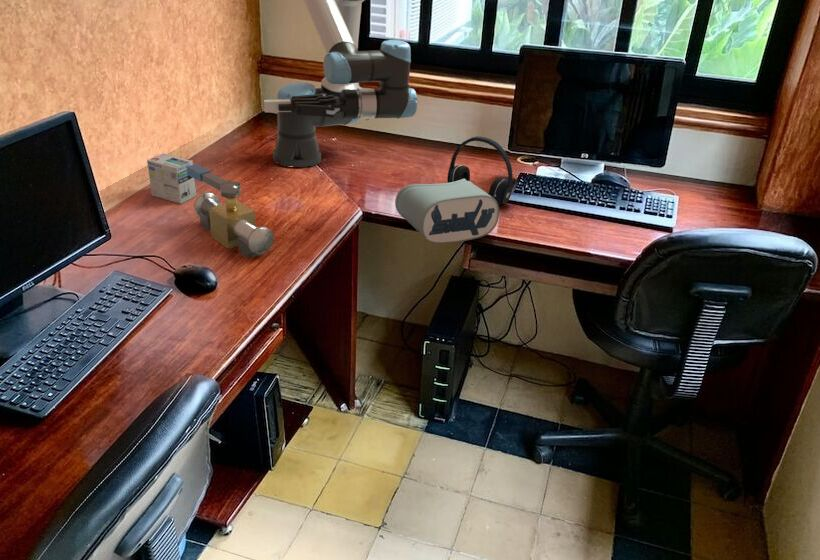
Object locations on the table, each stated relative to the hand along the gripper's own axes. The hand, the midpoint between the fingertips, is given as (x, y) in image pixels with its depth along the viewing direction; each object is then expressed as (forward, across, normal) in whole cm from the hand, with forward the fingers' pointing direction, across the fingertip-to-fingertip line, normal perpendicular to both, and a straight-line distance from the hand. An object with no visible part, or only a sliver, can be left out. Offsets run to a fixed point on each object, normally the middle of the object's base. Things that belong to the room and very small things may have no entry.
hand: (264, 106), depth 183 cm
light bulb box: (+25, +16, -30) cm, 42 cm away
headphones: (-61, +4, -30) cm, 69 cm away
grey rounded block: (-45, -14, -30) cm, 56 cm away
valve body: (+10, -12, -30) cm, 34 cm away
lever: (+14, -7, -18) cm, 23 cm away
